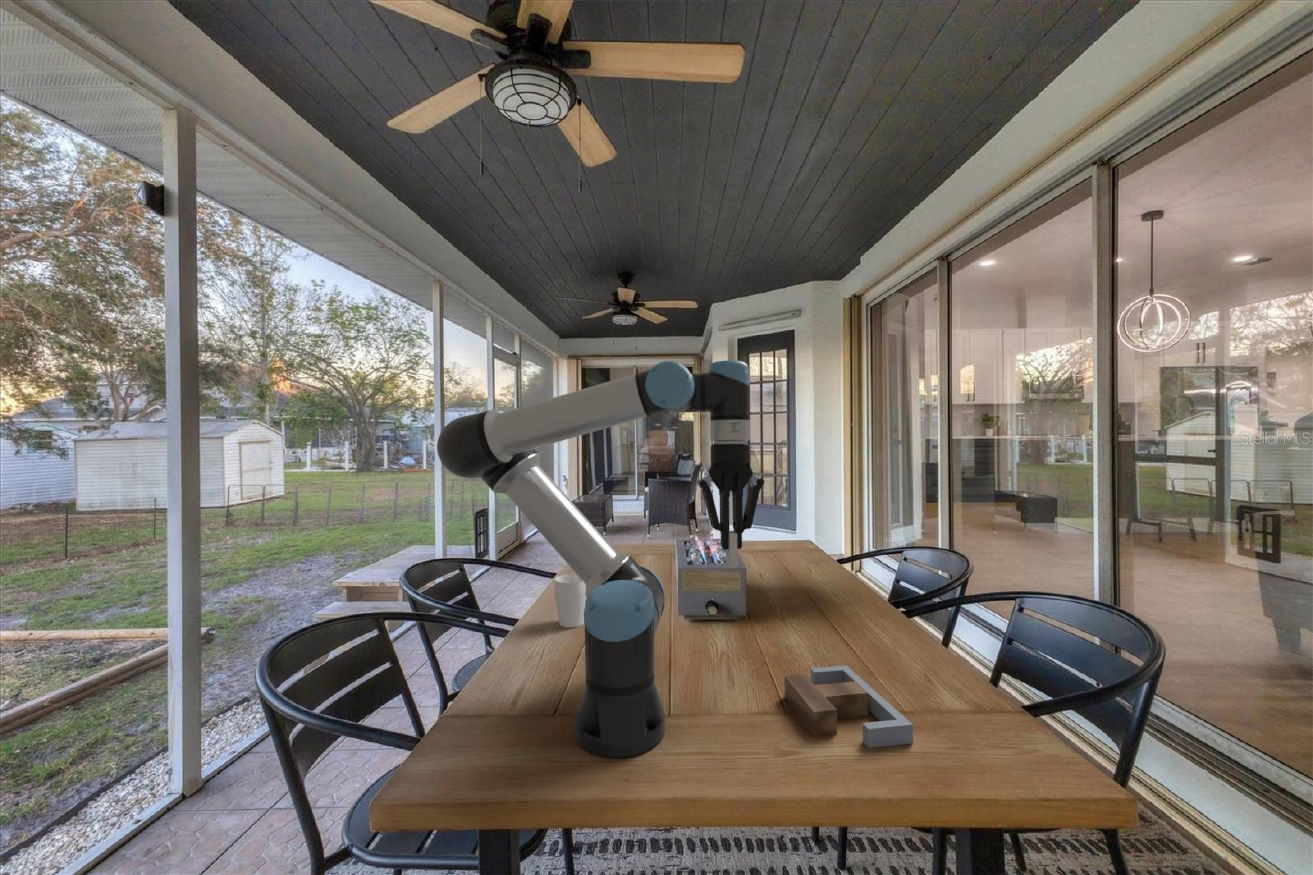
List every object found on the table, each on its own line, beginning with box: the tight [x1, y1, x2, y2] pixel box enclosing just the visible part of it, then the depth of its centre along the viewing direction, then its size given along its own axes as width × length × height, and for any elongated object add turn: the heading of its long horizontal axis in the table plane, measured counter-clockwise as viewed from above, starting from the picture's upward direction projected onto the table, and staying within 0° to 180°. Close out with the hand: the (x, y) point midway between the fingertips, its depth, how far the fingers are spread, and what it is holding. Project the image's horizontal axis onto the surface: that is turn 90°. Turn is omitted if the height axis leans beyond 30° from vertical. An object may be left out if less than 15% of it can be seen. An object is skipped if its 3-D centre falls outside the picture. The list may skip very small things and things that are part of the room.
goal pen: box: [810, 665, 914, 749], centre depth 86 cm, size 8×20×3 cm, turn 8°
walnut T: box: [784, 673, 869, 737], centre depth 86 cm, size 12×12×4 cm
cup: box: [554, 572, 587, 629], centre depth 128 cm, size 9×9×12 cm
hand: (731, 565), depth 92 cm, fingers closed
